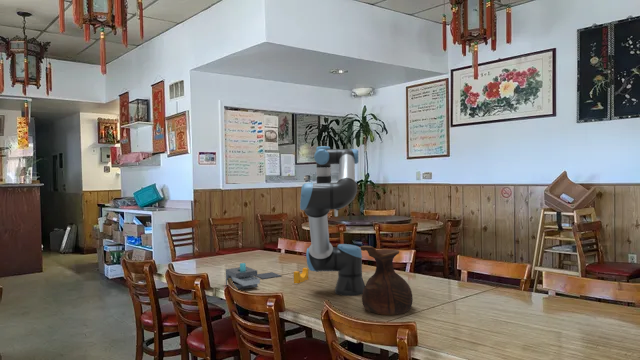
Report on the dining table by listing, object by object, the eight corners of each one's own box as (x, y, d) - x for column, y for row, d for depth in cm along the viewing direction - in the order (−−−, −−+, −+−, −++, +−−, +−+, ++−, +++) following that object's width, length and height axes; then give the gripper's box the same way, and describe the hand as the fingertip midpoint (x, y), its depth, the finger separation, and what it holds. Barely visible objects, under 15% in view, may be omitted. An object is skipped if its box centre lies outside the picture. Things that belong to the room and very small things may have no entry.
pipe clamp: (301, 279, 275) (301, 267, 275) (308, 279, 274) (308, 268, 273) (291, 283, 265) (290, 271, 265) (298, 284, 263) (297, 272, 263)
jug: (359, 306, 217) (358, 239, 217) (408, 306, 217) (407, 238, 216) (362, 322, 196) (361, 247, 195) (416, 321, 195) (415, 246, 194)
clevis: (262, 288, 253) (262, 272, 253) (241, 292, 247) (240, 275, 247) (246, 281, 270) (246, 266, 270) (226, 284, 264) (225, 269, 264)
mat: (281, 276, 282) (281, 275, 282) (262, 279, 276) (262, 278, 276) (272, 272, 292) (272, 272, 292) (253, 275, 286) (253, 274, 286)
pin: (247, 286, 260) (246, 263, 259) (241, 287, 258) (241, 264, 258) (244, 285, 262) (244, 262, 262) (239, 286, 260) (238, 263, 260)
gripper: (348, 175, 255) (349, 216, 255) (305, 175, 265) (306, 214, 266) (342, 175, 248) (343, 217, 249) (299, 176, 259) (300, 216, 259)
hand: (324, 216), depth 257 cm, fingers open, 13 cm apart
